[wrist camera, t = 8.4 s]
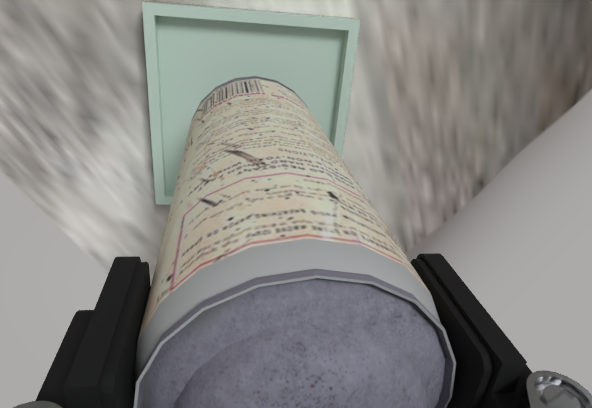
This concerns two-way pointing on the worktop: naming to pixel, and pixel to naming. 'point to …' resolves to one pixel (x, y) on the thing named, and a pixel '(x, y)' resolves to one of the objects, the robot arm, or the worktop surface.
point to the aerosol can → (282, 275)
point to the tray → (239, 68)
